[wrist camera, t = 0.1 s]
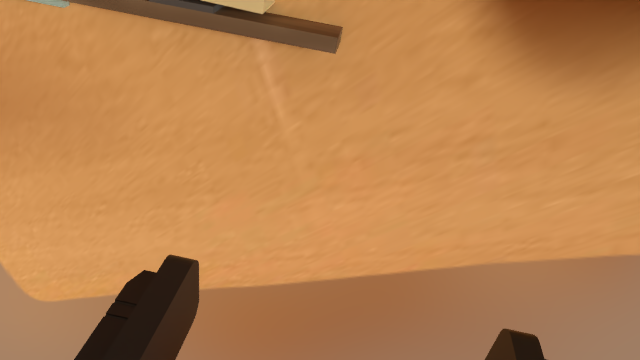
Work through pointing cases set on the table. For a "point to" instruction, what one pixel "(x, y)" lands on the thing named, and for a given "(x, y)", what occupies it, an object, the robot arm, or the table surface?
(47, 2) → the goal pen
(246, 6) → the block
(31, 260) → the table surface
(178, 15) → the chute
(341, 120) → the table surface
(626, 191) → the table surface
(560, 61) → the table surface
